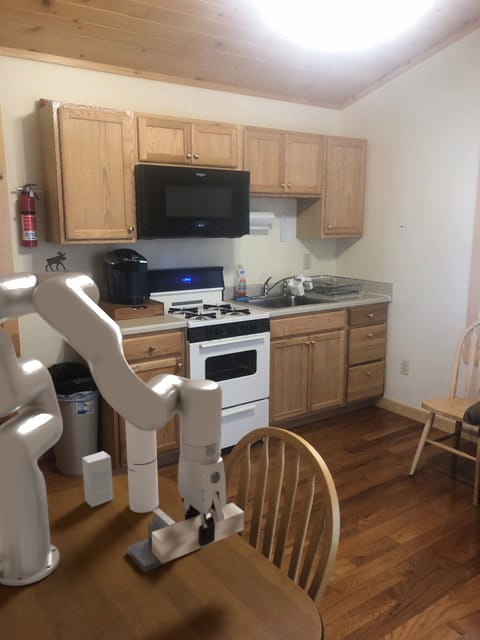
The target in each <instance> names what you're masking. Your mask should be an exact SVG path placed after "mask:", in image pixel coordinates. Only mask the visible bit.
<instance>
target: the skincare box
mask: <svg viewBox="0 0 480 640" xmlns="http://www.w3.org/2000/svg"><path fill="white" fill-rule="evenodd" d="M81 464H82V475H83V487H84V500H85V502H86V503H87V504H88V506H90V507H91V508H95V507H97V506H99V505H102V504H105V503H108V502H110V501H113V500H114V487H113V472H112V457H111V455H110V454H108V453H107V452H105V451H103V450H101V451H100V452H99V451H98V452H96V453H93V454H89V455H87V456H82V458H81Z"/></svg>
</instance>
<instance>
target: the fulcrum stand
mask: <svg viewBox="0 0 480 640" xmlns="http://www.w3.org/2000/svg"><path fill="white" fill-rule="evenodd" d="M173 524H176V521H174V520H173V518H171V517H170V516H169V515H168V514H166V513H165V512H164V511H163V510H162V509H160V508H159V507H157V508H155V509H154V510H152V520H151V521H149V522H147V528H148V529H147V530H148V532H147V533H148V538H145V539H142V540H140V541H138V542H136V543H133V544H131V545H128V546H126V554H127V555H128V556H129V557H130V558H131V559H132V561H133V562H134V563H135V564H136V565H137V566H138V567H139V568H140V570H141V571H143V573H144V574H146V573H147V572H150V571H151V570H155V569H156V568H158V567H162V566H163V565H164V564H167V563H169V562H171V561H174V560H176V559H178V558H179V557H177V558H175V559H173V560H170V561H168V562H165V563H163V564H162V563H161V561H160V560H159V559H158V558H157V557H156V556H155V555H154V554H153V552H152V532H154V531H157V530H160V529H162V528H165V527H168V526H170V525H173Z"/></svg>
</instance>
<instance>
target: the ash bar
mask: <svg viewBox="0 0 480 640" xmlns="http://www.w3.org/2000/svg"><path fill="white" fill-rule="evenodd" d="M222 511H223V515H224V520H223V521H220V522H217V523H216V524H215V540H214V541H213V542H211V543H209V544H206V545H204V546H202V547H201V546H200V545H199V526H201V518H200V515H197V516H195V517H192V518H190V519H187V520H185V519H184V520H181V521H179V522H177V523H176V522H175V524H173V525H170V526H168V527H165V528H162V529H160V530H157V531H154V532H152V552H153V554H154V555H155V556H156V557H157V558H158V559H159V560H160V561H161V563H162V564H163V563H165V562H167V563H169V562H171V561H170V560H172V561H174V560H176V559H178V558H180V557H182V556H184V555H187V554H189V553H191V552H194V551H197V550H199V549H201V548H203V547H204V548H205V547H206V546H209V545H211V544H214V543H216V542H218V541H221V540H223V539H226V538H228V537H230V536H233V535H235V534H238V533H240V532H243V531H244V527H245V526H244V523H245V521H244V520H245V511H243V510H242V509H241V508H240V507H238V506H237V505H236V504H235V503H234V502H230V503H226V506H225V508H222ZM209 517H211V515H210V513H208V515H206V519H208V518H209ZM177 557H178V558H177ZM175 558H176V559H175ZM173 559H174V560H173ZM168 561H169V562H168ZM165 564H166V563H165ZM163 565H164V564H163Z"/></svg>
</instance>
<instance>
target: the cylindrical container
mask: <svg viewBox="0 0 480 640" xmlns="http://www.w3.org/2000/svg"><path fill="white" fill-rule="evenodd" d="M124 420H125V419H124ZM124 424H125V440H126V441H125V442H126V460H127V461H126V462H127V476H128V477H127V480H128V500H129V501H128V502H129V509H130V510H131V511H132V512H135V513H138V514H139V513H140V514H141V513H149V512H153V510H155V509H157V508H158V507H159V483H158V482H159V481H158V479H159V478H158V459H157V457H158V456H157V454H158V453H157V451H158V450H157V430H155V431H144V430H141V429H138V428H136V427H135V426H133V425H132V424H130V423H129V422H128V421H127V420H125V422H124Z"/></svg>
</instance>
